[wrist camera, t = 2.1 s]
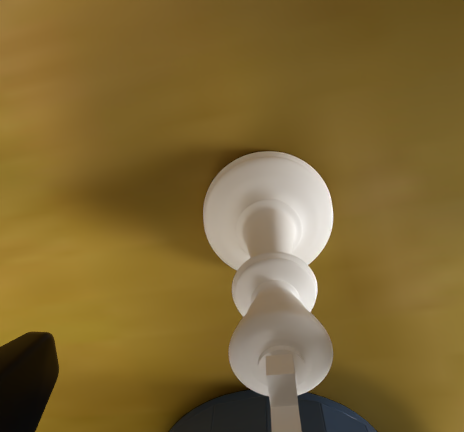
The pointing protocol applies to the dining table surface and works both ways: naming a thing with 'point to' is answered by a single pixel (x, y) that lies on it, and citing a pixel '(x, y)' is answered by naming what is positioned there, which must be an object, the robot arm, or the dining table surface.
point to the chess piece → (273, 274)
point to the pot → (268, 415)
